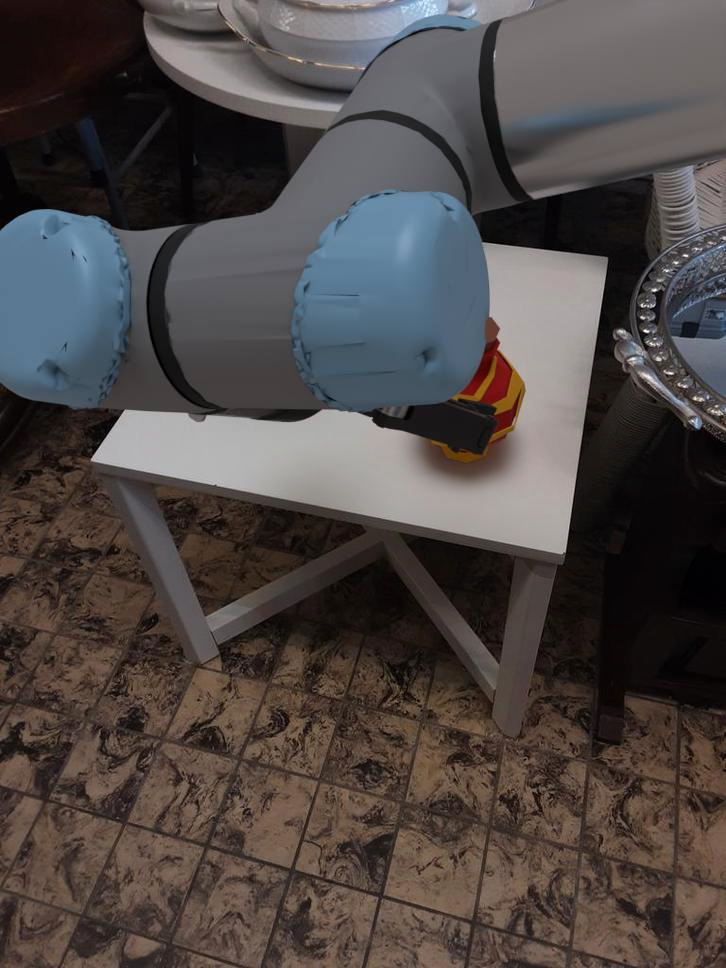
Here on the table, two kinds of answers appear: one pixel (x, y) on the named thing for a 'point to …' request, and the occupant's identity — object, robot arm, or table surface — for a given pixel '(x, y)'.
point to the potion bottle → (492, 392)
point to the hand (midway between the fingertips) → (413, 384)
